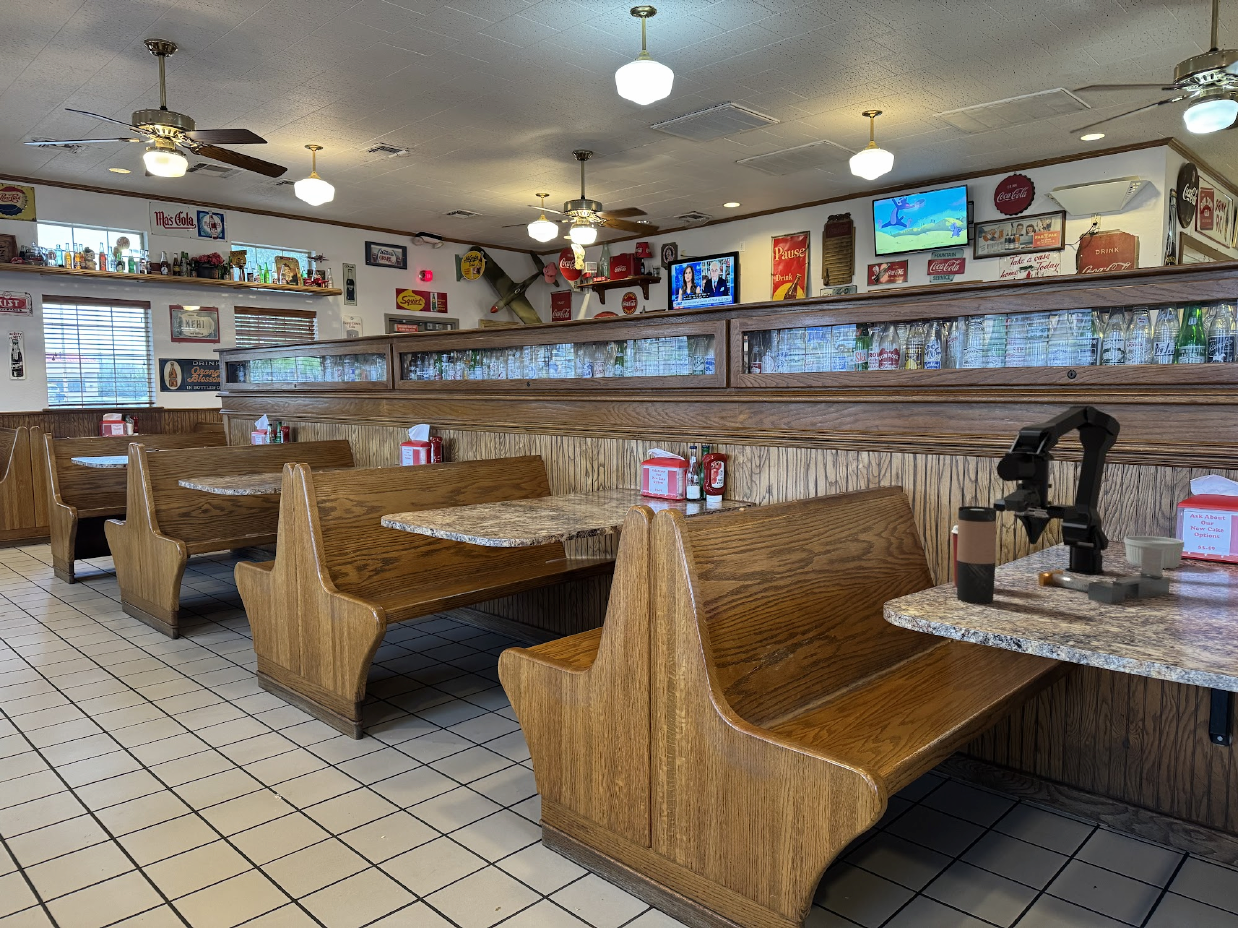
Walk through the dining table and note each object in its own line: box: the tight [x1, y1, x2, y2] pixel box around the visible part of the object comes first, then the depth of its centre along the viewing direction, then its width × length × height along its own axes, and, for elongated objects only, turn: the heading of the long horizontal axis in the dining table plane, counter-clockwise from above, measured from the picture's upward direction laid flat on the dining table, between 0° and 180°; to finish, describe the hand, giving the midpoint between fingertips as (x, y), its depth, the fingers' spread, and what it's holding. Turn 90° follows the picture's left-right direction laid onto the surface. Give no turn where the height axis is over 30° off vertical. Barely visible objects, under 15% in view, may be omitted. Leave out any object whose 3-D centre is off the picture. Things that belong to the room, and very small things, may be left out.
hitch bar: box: [1087, 574, 1171, 605], centre depth 177 cm, size 5×21×4 cm, turn 117°
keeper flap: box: [1139, 547, 1164, 578], centre depth 181 cm, size 4×1×6 cm, turn 27°
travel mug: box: [956, 505, 997, 605], centre depth 174 cm, size 8×8×20 cm
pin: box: [1038, 569, 1094, 593], centre depth 186 cm, size 10×7×3 cm
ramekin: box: [1123, 535, 1185, 570], centre depth 213 cm, size 13×13×7 cm
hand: (1033, 544), depth 194 cm, fingers closed
